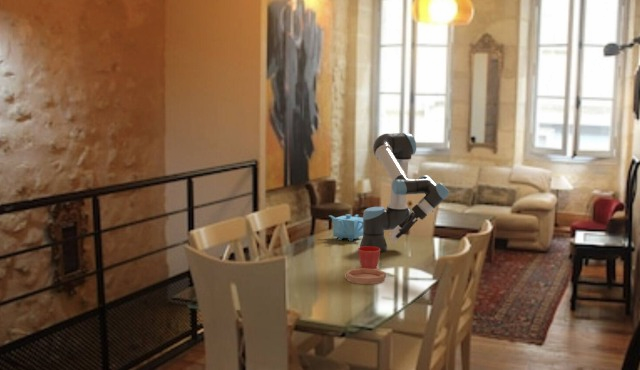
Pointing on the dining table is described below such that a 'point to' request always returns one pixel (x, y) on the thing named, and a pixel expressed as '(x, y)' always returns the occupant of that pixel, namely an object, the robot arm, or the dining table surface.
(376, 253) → the flower pot
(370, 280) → the terracotta saucer
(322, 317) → the dining table surface
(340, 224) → the teakettle
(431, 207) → the robot arm
